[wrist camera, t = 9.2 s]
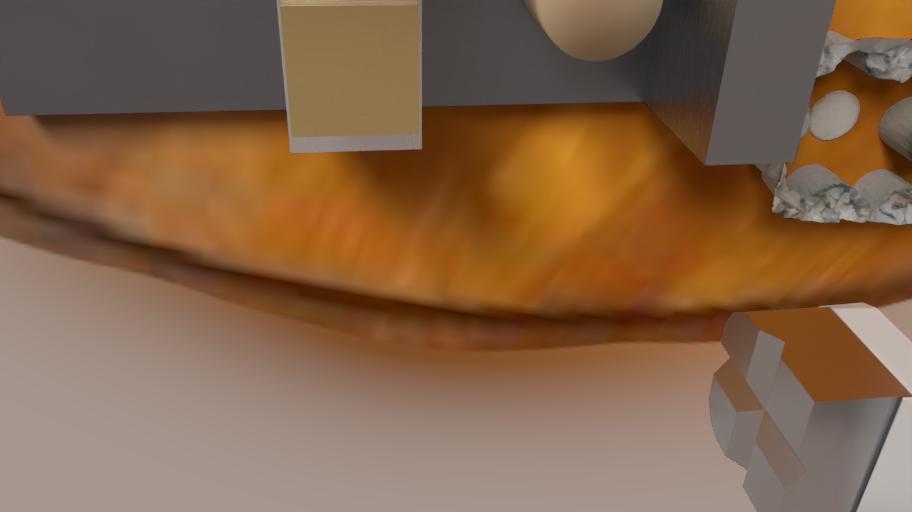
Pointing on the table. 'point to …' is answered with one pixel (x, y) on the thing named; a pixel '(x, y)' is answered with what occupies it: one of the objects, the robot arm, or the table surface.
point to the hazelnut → (595, 25)
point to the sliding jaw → (352, 74)
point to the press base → (431, 63)
